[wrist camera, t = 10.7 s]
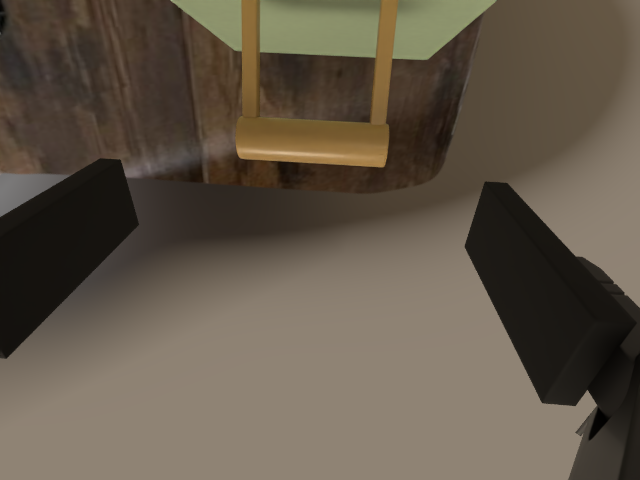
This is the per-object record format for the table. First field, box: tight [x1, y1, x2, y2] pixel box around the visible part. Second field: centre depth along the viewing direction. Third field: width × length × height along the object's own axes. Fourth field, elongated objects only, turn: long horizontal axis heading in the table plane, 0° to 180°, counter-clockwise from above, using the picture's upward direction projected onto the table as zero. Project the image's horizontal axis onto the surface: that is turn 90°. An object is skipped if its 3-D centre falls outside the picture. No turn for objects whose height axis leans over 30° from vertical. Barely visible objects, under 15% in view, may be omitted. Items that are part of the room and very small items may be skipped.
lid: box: [171, 0, 497, 167], centre depth 22 cm, size 17×16×8 cm
